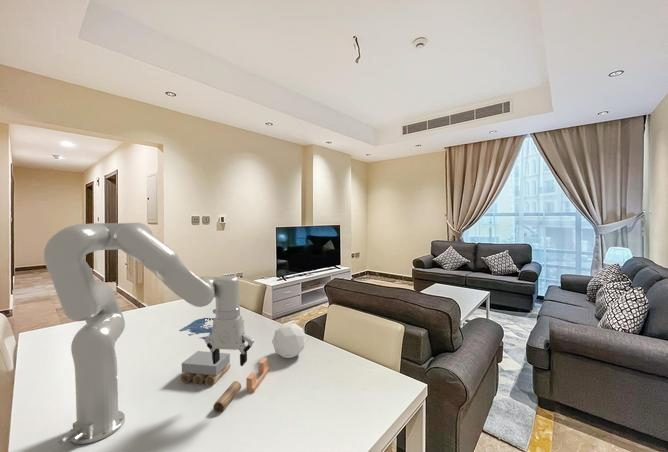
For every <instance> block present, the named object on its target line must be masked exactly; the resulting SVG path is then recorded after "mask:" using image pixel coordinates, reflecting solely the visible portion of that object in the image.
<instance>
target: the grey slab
mask: <svg viewBox="0 0 668 452" xmlns="http://www.w3.org/2000/svg"><path fill="white" fill-rule="evenodd" d="M230 357H231V353H227V352H220V360H219V361H218V362H217V363H216V364H213V360H212V352H210V351H203V350H197V351H195V353H193V354H191V356H189V357H188V358H186V359H185V360H184V361H183V362H181V373H183V374H184V373H195V374H205V375H217V374H218V373H219V372H220V371H221V370H222V369H223V368H224V367H225V366H226V365H227V364H228V363H229V362H230V363H231V359H230Z"/></svg>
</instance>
